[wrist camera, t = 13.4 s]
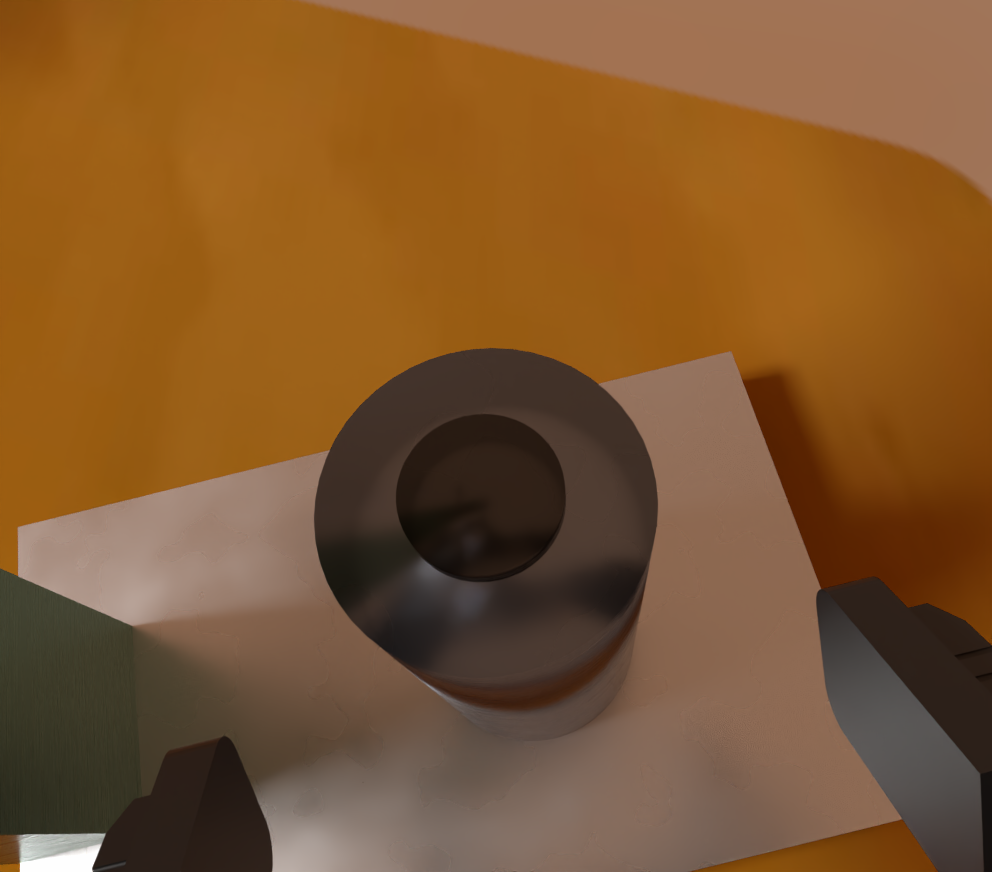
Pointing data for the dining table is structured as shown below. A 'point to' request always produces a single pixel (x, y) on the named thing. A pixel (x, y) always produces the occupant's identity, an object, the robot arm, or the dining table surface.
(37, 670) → the press
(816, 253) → the dining table surface
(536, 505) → the cylinder
